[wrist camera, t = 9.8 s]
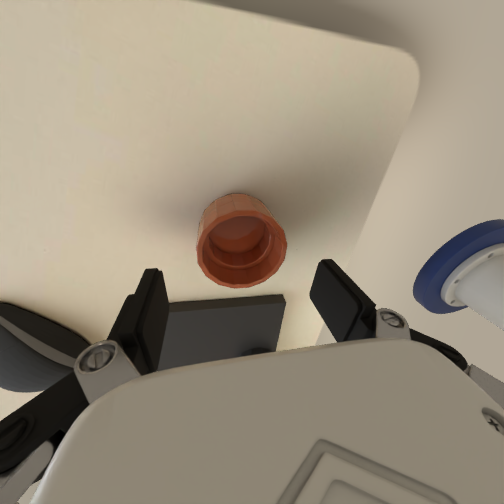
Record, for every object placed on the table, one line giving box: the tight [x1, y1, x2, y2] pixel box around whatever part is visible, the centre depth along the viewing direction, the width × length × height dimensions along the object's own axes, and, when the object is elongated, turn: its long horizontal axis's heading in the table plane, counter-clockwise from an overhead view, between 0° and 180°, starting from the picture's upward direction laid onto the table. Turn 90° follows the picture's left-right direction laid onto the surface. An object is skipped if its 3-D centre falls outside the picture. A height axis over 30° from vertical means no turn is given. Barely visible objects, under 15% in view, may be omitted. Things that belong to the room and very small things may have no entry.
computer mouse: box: [0, 303, 89, 392], centre depth 20 cm, size 7×12×4 cm, turn 23°
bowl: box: [196, 194, 287, 288], centre depth 17 cm, size 7×7×5 cm
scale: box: [157, 295, 286, 371], centre depth 25 cm, size 16×14×3 cm
